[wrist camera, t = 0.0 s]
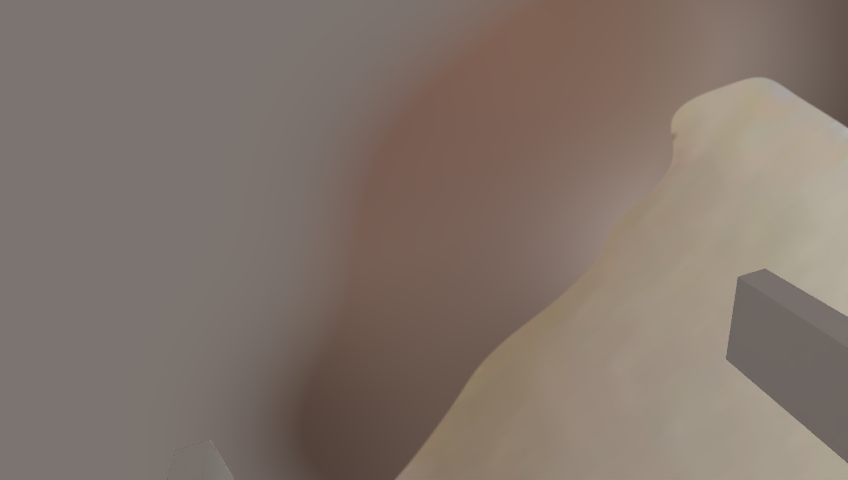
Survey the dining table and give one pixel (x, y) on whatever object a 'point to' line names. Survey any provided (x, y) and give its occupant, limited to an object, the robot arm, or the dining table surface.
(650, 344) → the dining table surface
